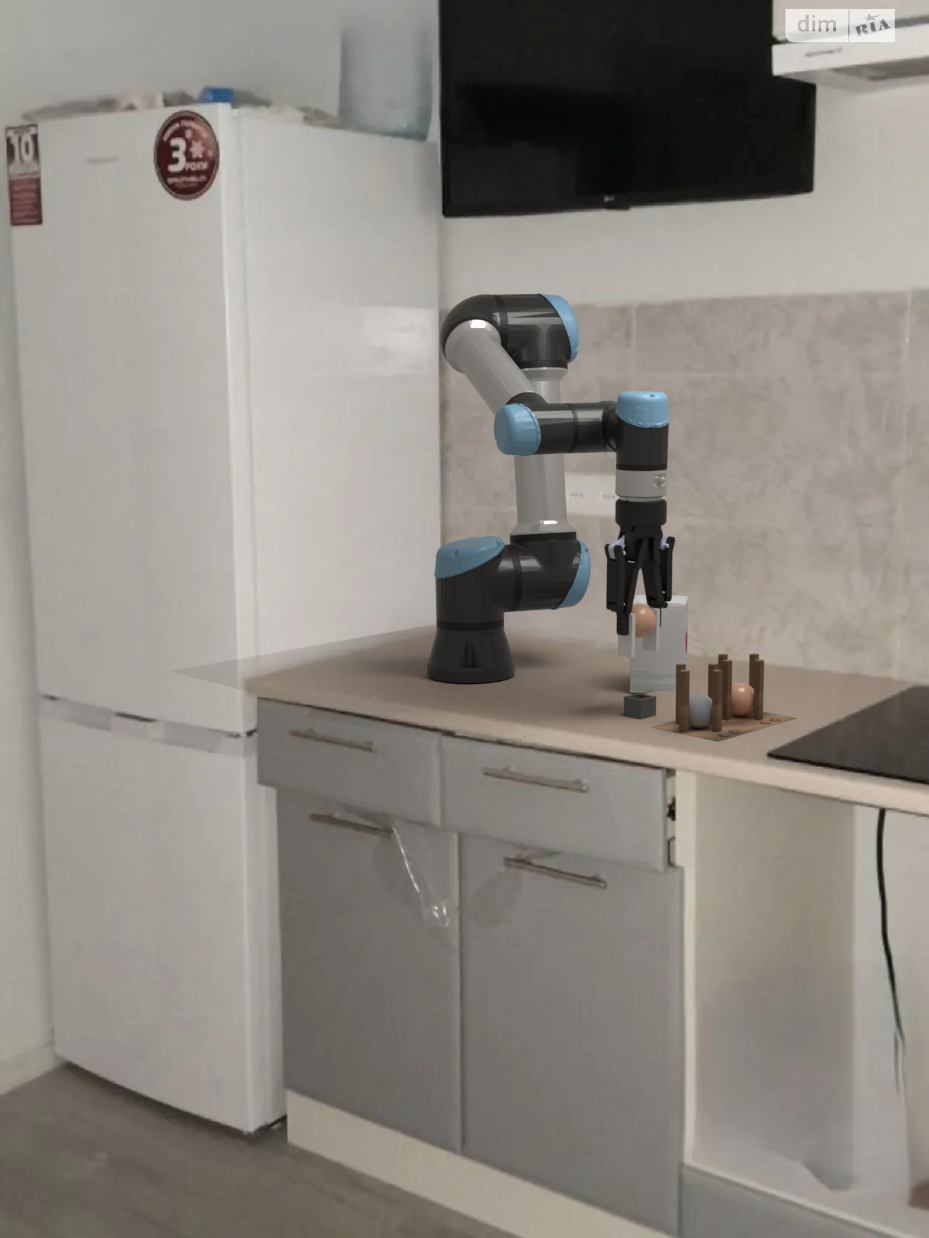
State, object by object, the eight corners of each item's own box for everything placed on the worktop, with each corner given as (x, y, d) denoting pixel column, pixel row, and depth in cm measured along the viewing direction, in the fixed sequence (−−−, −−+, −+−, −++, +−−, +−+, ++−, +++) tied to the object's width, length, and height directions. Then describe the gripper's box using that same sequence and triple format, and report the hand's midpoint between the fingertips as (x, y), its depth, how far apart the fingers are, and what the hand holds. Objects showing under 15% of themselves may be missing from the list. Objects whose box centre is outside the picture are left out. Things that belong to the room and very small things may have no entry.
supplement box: (685, 695, 244) (686, 603, 241) (629, 694, 246) (629, 602, 243) (688, 683, 253) (689, 594, 250) (634, 682, 254) (634, 593, 252)
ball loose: (615, 637, 227) (615, 604, 226) (637, 632, 230) (637, 599, 229) (641, 642, 223) (641, 608, 222) (662, 637, 227) (663, 604, 226)
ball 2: (716, 715, 227) (716, 683, 227) (736, 710, 231) (736, 677, 230) (743, 721, 224) (744, 688, 223) (763, 715, 227) (764, 682, 226)
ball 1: (673, 727, 221) (674, 693, 220) (695, 721, 224) (695, 688, 223) (701, 733, 217) (701, 699, 216) (722, 727, 220) (723, 693, 220)
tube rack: (651, 731, 221) (651, 667, 220) (731, 709, 234) (731, 648, 232) (718, 745, 213) (719, 679, 211) (796, 722, 225) (798, 659, 224)
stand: (623, 719, 229) (623, 696, 228) (638, 715, 231) (638, 692, 230) (641, 723, 226) (641, 700, 226) (655, 719, 229) (656, 696, 228)
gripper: (620, 505, 214) (618, 666, 219) (699, 494, 226) (696, 647, 231) (580, 501, 220) (579, 658, 224) (660, 491, 232) (657, 640, 236)
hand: (638, 652), depth 227 cm, fingers closed on ball loose, 5 cm apart
